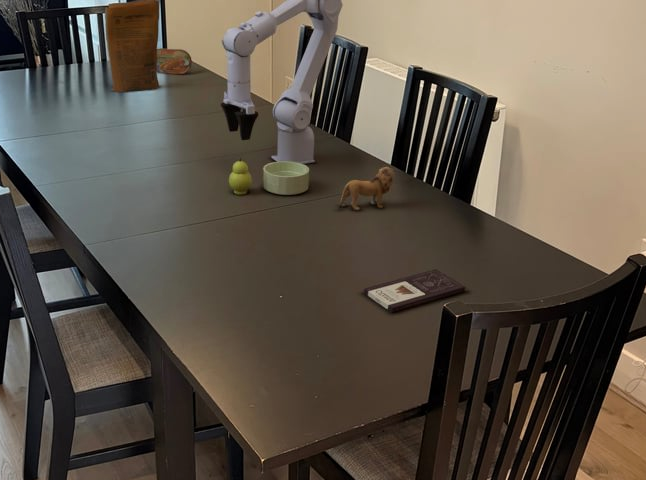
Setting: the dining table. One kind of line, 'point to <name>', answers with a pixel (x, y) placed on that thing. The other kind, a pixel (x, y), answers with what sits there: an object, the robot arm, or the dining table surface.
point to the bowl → (286, 177)
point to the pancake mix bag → (133, 44)
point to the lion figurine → (369, 188)
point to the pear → (240, 177)
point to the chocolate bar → (413, 290)
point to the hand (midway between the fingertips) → (239, 135)
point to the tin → (173, 61)
